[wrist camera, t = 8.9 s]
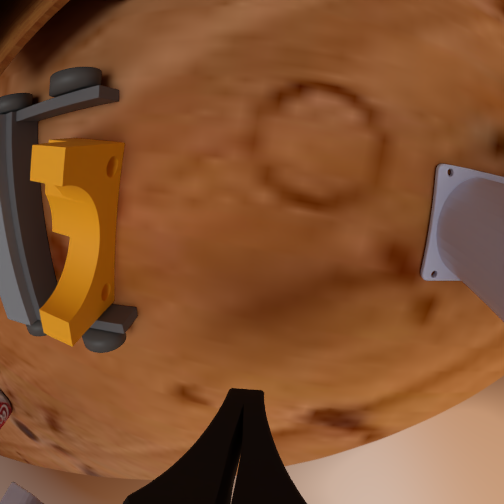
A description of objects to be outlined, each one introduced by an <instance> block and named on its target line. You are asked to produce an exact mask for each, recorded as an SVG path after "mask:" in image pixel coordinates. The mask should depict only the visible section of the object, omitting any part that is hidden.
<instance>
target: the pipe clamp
mask: <svg viewBox="0 0 504 504" xmlns="http://www.w3.org/2000/svg"><path fill="white" fill-rule="evenodd" d="M124 146H125V143H122V142H114V141H104V140H94V139H83V138H67V139H54V140H49V143H44V144H35V145H32V156H31V171H30V181H35V182H40V183H46V185H45V194H46V196H47V198H48V201H49V204H50V208H51V214H52V232H56V233H59V234H62V235H66V236H69V237H70V241H69V249H68V254H67V259H66V263H65V266H64V270H63V272H62V275H61V278H60V280H59V282H58V284H57V286H56V288H55V290H54V292H53V293H52V295H51V296H50V298H49V299H48V301H47V302H46V303H45V304H44V305H43V306H42V307H41V308H40V309H39V312H40V317H41V322H42V327H43V332H44V333H45V334H47V335H49V336H51V337H53V338H55V339H57V340H59V341H62V342H64V343H66V344H68V345H70V346H72V347H73V346H74V344H75V343H76V342H77V341H78V340H79V339H80V338H81V337H82V335H83V334H84V333H85V332H86V331H87V330H88V329H89V328H90V327H91V325H92V324H93V323H94V322H95V321H96V320H97V319H98V318H99V317H100V316H101V315H102V314H103V312H104V311H105V310H106V309H107V308H108V307H109V306H110V305H111V304H112V303H113V302H114V265H115V236H116V219H117V206H118V195H119V185H120V176H121V168H122V160H123V153H124Z"/></svg>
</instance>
